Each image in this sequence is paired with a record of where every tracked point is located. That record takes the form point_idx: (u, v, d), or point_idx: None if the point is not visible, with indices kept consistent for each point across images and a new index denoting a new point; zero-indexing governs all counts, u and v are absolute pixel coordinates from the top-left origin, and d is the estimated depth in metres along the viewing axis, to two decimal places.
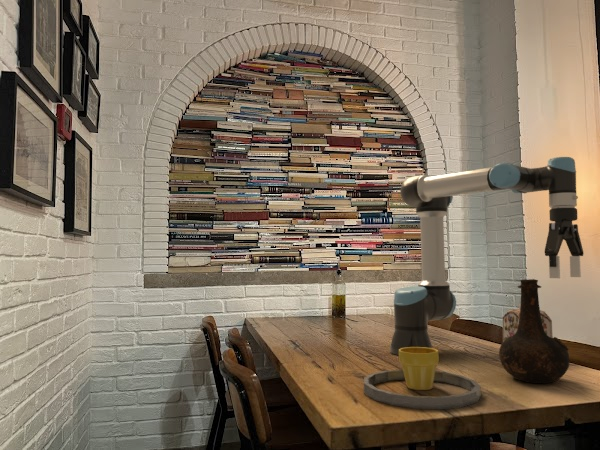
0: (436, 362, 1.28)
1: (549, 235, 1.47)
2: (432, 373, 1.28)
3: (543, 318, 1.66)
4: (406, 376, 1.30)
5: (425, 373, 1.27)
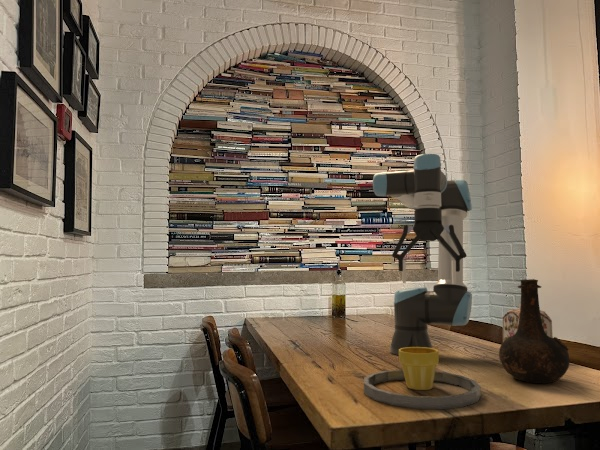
0: (436, 362, 1.28)
1: None
2: (432, 373, 1.28)
3: (543, 318, 1.66)
4: (406, 376, 1.30)
5: (425, 373, 1.27)
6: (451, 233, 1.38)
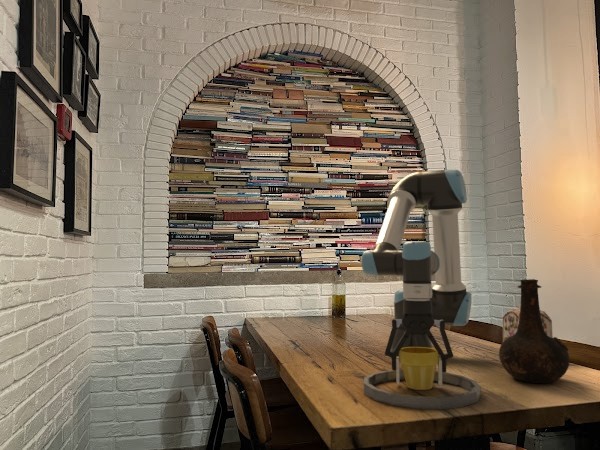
0: (436, 362, 1.28)
1: (390, 333, 1.34)
2: (432, 373, 1.28)
3: (543, 318, 1.66)
4: (406, 376, 1.30)
5: (425, 373, 1.27)
6: (441, 329, 1.30)
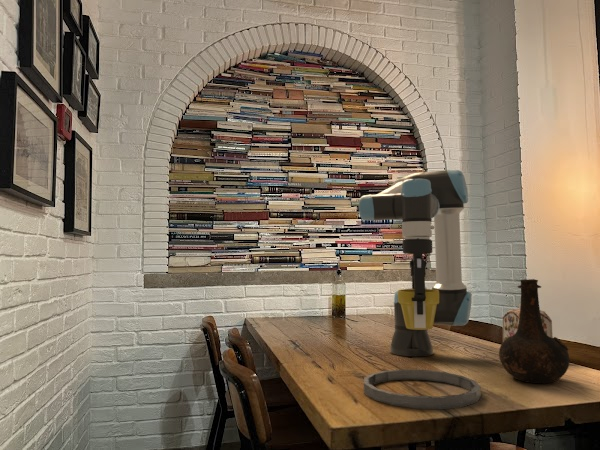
0: None
1: (416, 275, 1.21)
2: None
3: (543, 318, 1.66)
4: (427, 317, 1.24)
5: None
6: None
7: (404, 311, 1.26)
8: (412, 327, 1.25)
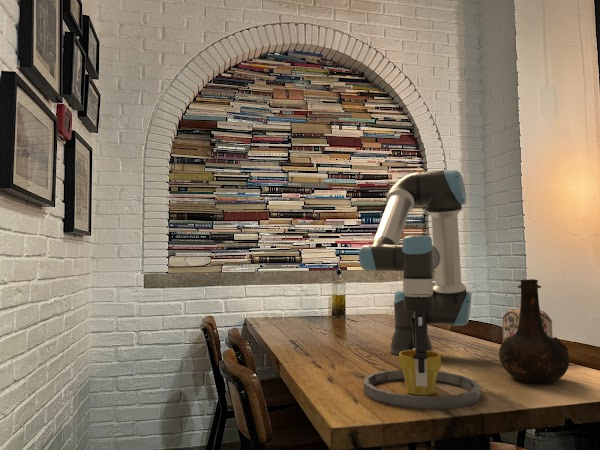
0: None
1: (417, 333, 1.20)
2: None
3: (543, 318, 1.66)
4: (429, 383, 1.23)
5: None
6: None
7: (405, 375, 1.25)
8: (413, 392, 1.24)
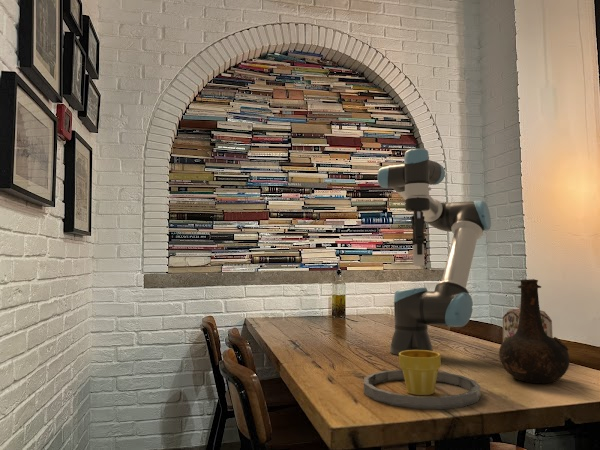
0: None
1: (416, 223, 1.48)
2: None
3: (543, 318, 1.66)
4: (428, 383, 1.23)
5: None
6: None
7: (405, 375, 1.25)
8: (413, 392, 1.24)
